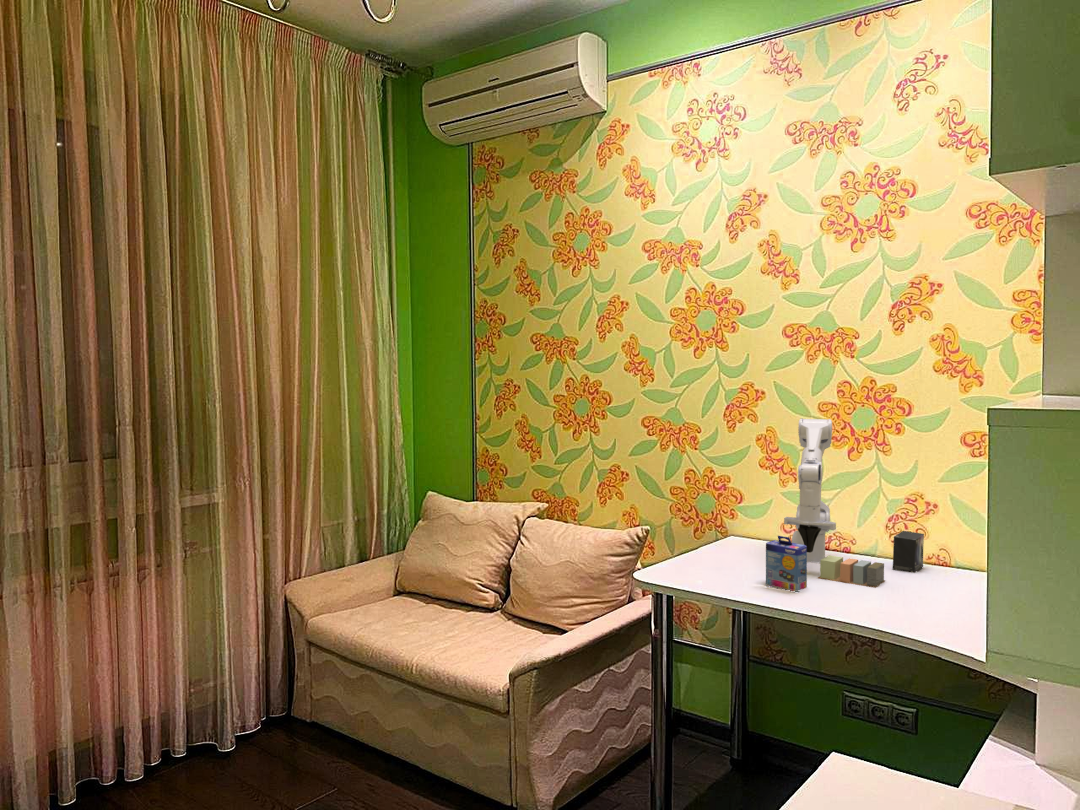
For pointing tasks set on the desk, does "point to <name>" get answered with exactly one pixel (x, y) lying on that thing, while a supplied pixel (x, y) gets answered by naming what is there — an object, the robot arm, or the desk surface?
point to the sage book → (830, 567)
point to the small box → (908, 551)
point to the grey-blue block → (860, 572)
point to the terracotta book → (847, 570)
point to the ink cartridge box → (786, 564)
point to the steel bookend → (875, 574)
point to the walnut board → (849, 582)
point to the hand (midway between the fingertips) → (809, 551)
